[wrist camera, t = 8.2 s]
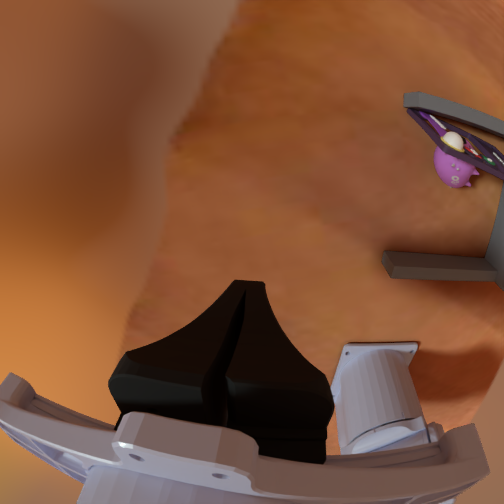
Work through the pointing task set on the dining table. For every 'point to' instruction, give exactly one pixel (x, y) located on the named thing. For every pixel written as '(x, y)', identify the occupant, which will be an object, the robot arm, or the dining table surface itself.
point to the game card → (459, 152)
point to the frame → (446, 266)
